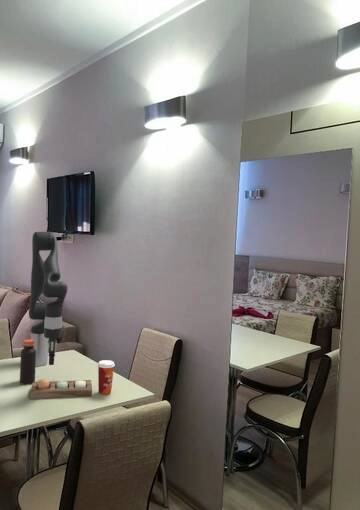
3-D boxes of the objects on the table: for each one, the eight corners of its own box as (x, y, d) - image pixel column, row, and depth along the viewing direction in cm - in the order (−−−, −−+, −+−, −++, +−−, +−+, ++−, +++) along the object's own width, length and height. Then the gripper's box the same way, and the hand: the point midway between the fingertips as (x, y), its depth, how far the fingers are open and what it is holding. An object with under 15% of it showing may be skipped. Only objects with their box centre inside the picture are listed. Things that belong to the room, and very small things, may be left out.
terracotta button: (37, 387, 183) (38, 379, 182) (49, 387, 184) (49, 378, 184) (37, 392, 178) (37, 383, 178) (48, 391, 179) (49, 382, 179)
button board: (32, 388, 185) (32, 381, 185) (90, 386, 192) (91, 380, 192) (29, 399, 174) (30, 392, 174) (91, 396, 181) (92, 389, 180)
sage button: (56, 389, 185) (56, 381, 184) (67, 389, 186) (67, 380, 186) (56, 394, 180) (56, 385, 180) (67, 393, 181) (67, 384, 181)
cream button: (74, 389, 187) (75, 380, 187) (85, 388, 188) (85, 380, 188) (74, 393, 182) (75, 384, 182) (85, 392, 183) (86, 384, 183)
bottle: (16, 382, 191) (18, 340, 190) (27, 378, 197) (29, 337, 196) (26, 385, 188) (28, 343, 187) (38, 381, 194) (39, 340, 193)
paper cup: (107, 397, 181) (109, 366, 180) (92, 393, 184) (94, 363, 183) (116, 391, 188) (118, 361, 188) (102, 387, 191) (103, 358, 190)
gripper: (44, 322, 186) (43, 360, 187) (43, 329, 173) (41, 369, 174) (61, 322, 188) (60, 359, 189) (62, 329, 175) (60, 369, 176)
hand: (51, 364), depth 181 cm, fingers closed
